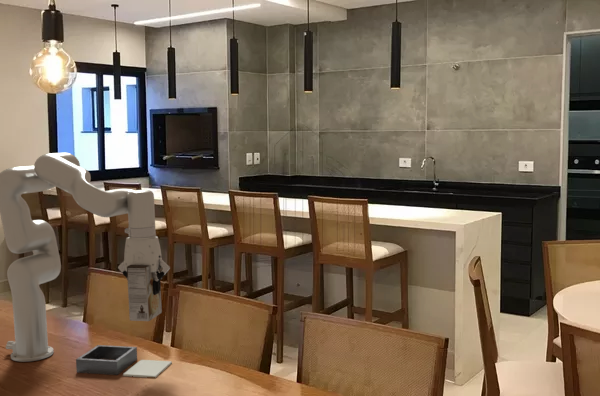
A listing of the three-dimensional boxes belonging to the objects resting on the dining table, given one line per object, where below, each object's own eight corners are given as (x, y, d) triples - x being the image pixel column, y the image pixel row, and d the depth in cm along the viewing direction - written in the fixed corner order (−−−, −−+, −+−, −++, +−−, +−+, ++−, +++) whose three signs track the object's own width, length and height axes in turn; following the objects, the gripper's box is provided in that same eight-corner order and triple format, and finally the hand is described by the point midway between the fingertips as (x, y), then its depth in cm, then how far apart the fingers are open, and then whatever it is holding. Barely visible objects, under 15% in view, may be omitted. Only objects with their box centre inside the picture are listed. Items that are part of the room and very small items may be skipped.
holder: (76, 372, 193) (75, 359, 193) (98, 357, 206) (97, 345, 206) (117, 375, 191) (116, 361, 190) (137, 359, 204) (136, 347, 203)
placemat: (123, 376, 190) (123, 374, 190) (141, 361, 202) (141, 359, 202) (155, 378, 188) (155, 375, 188) (171, 363, 200) (171, 361, 200)
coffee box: (142, 312, 198) (140, 259, 197) (162, 312, 197) (160, 260, 195) (128, 320, 189) (126, 265, 188) (149, 321, 188) (147, 266, 186)
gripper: (108, 234, 189) (111, 295, 191) (165, 235, 185) (167, 297, 187) (120, 230, 196) (123, 289, 198) (175, 231, 193) (177, 291, 194)
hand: (145, 292), depth 192 cm, fingers closed on coffee box, 6 cm apart
